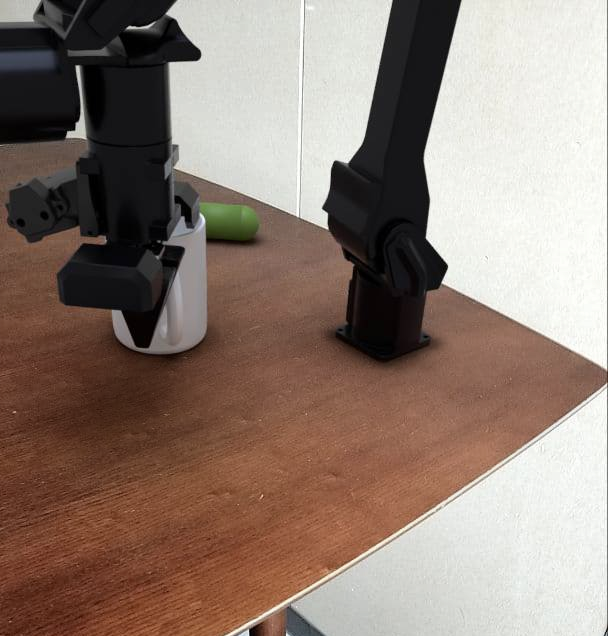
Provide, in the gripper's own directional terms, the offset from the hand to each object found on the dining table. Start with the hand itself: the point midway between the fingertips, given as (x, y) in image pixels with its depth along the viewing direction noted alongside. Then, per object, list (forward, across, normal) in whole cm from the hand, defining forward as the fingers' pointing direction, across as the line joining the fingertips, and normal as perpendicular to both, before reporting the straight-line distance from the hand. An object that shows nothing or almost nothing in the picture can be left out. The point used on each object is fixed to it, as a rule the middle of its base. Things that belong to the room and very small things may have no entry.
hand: (143, 346), depth 68 cm
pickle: (+3, -33, 0) cm, 33 cm away
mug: (+4, -7, 0) cm, 8 cm away
